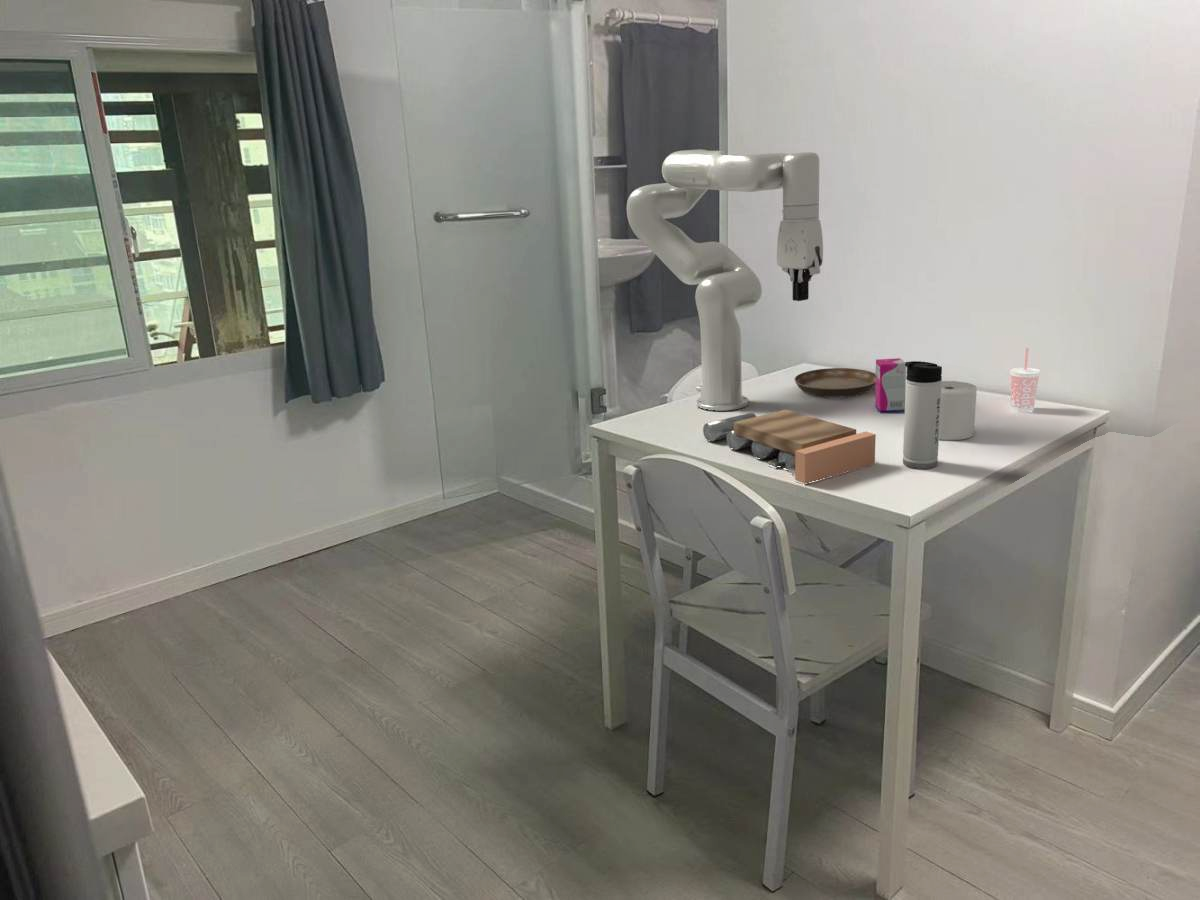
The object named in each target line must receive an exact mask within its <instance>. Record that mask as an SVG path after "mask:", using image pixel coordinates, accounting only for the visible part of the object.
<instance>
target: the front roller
mask: <svg viewBox="0 0 1200 900" xmlns="http://www.w3.org/2000/svg"><path fill="white" fill-rule="evenodd" d="M781 451H782V450H779V449H776V448H774V447H771V446H768V445H765V444H762V443H759V442H756V441H753V443H752V446H751V452H752V454H753V456H754V457H755V458H756V457H757V458H760V459H759V460H763V459H766V458H767V457H768V458H771V457H774V456H779V453H780V452H781ZM757 458H756V459H757Z"/></svg>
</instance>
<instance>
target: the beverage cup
mask: <svg viewBox="0 0 1200 900" xmlns="http://www.w3.org/2000/svg"><path fill="white" fill-rule="evenodd" d="M1028 354H1029V348H1028V347H1026V348H1025V357H1024V366H1023V367H1014V368H1011V369H1010V370H1009V374H1010V410H1011V409H1012V410H1014V411H1018V412H1017V413H1020V412H1029V413H1031V412H1030V411H1033V410H1035V404H1036V403H1035V402H1036V396H1037V389H1038V386H1039V385H1038V383H1039V377H1040V376H1041V372H1042V371H1041V369H1038V368H1032V367H1028V358H1029V355H1028ZM1012 410H1011V411H1012ZM1014 411H1013V412H1014ZM1033 412H1034V411H1033Z"/></svg>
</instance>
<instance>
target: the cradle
mask: <svg viewBox="0 0 1200 900" xmlns="http://www.w3.org/2000/svg"><path fill="white" fill-rule="evenodd" d="M767 463H768V464H769V465H772V466H774V467H777V466H780V463H779V457H778V458H775V459H772V460H771V459H770V460H768V462H767ZM788 472H790V473H792V474H795V466H794V467H790V468H788V471H787V473H788Z"/></svg>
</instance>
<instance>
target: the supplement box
mask: <svg viewBox="0 0 1200 900" xmlns="http://www.w3.org/2000/svg"><path fill="white" fill-rule="evenodd" d="M875 374H876V384H875V386H874V387H875V389H874V390H875V395H874V396H875V397H874V400H875V401H874V407H875V408H876V410H877V411H878V413H879V412H880V413H879V414H884V413H885V414H888V413H889V414H890V413H905V394H906V376H907V367H906V366H905V361H904V360H903V359H902V358H901V357H899V358H883V359H882V358H880V359H875Z"/></svg>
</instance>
